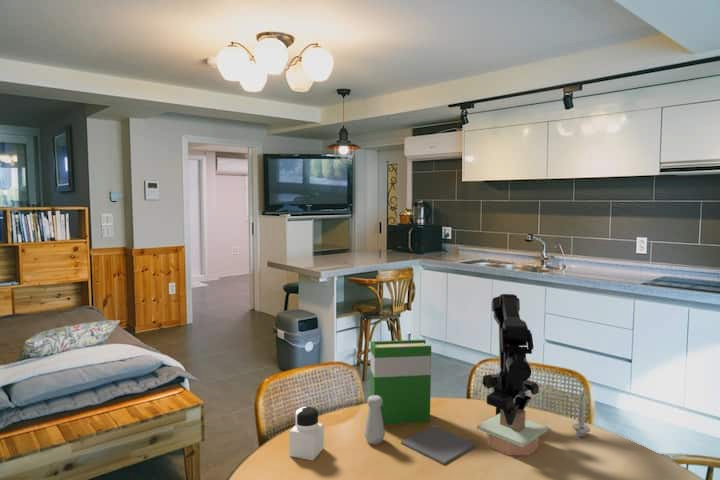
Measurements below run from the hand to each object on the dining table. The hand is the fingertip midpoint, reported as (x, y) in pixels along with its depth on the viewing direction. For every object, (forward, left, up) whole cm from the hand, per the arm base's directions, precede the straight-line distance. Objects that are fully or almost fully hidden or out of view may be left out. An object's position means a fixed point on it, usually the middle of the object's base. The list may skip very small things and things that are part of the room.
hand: (512, 422), depth 137 cm
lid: (0, 0, -2) cm, 2 cm away
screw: (-20, +11, -6) cm, 24 cm away
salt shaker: (+28, -27, -6) cm, 39 cm away
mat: (+16, -13, -6) cm, 22 cm away
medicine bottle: (+46, -35, -6) cm, 58 cm away
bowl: (0, 0, -6) cm, 6 cm away
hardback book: (+12, -32, -6) cm, 35 cm away
